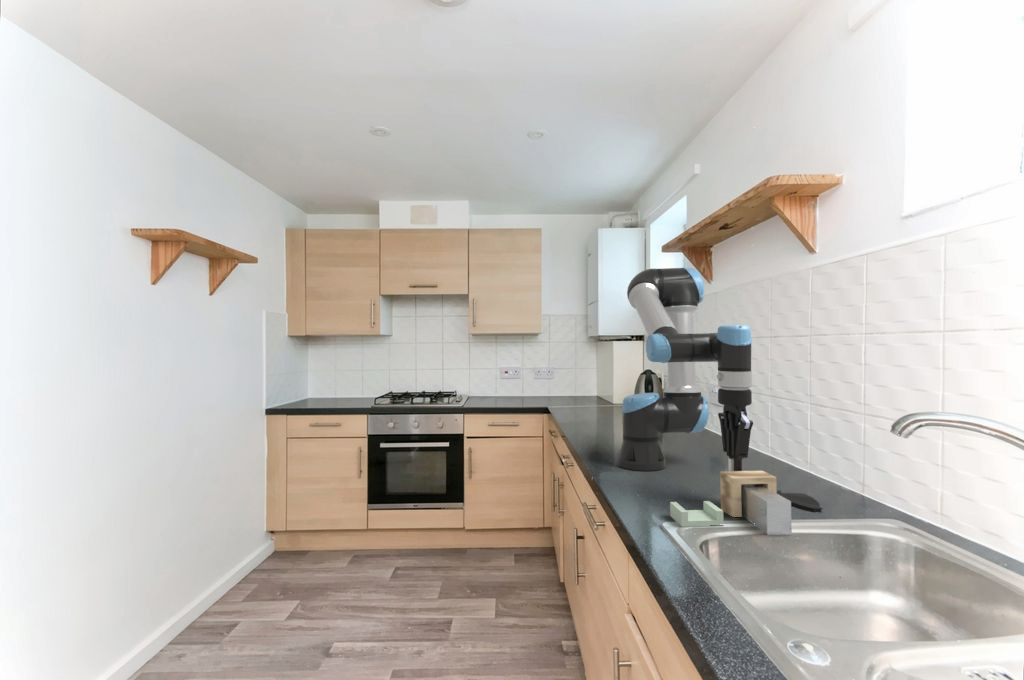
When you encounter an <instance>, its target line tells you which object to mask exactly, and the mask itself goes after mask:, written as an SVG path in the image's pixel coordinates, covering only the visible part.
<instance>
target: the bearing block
mask: <svg viewBox="0 0 1024 680" xmlns="http://www.w3.org/2000/svg"><path fill="white" fill-rule="evenodd" d="M719 474H720V476H719V477H720V478H719V479H720V482H719V483H720V484H719V485H720V509H721V510H723V513H725V514H727V515H728V516H729V515H730V516H729V517H731V516H732V517H742V518H743V516H742V505H741V484H761V485H762V486H764V487H766V488H768V489H770V490H771V491H773V492H775V493H777V491H778V489H777V485H778V484H777V476H774V475H773V474H770V473H768V472H767V471H764V470H742V471H725V470H724V471H720V472H719ZM732 517H731V518H732Z"/></svg>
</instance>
